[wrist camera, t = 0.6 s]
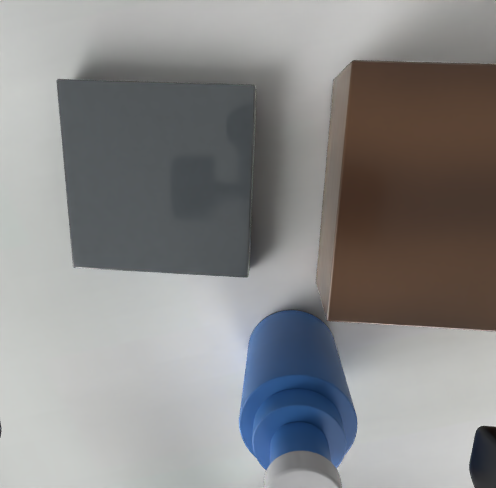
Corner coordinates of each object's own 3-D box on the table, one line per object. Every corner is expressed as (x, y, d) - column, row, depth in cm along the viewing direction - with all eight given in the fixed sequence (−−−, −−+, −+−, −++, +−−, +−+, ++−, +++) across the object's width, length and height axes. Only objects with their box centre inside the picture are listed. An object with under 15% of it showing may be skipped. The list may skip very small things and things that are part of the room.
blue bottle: (331, 389, 22) (369, 564, 13) (246, 384, 22) (228, 550, 13) (339, 312, 21) (388, 446, 12) (250, 307, 21) (231, 433, 12)
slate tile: (249, 270, 21) (248, 278, 19) (83, 261, 21) (72, 268, 20) (256, 87, 18) (255, 84, 17) (69, 82, 19) (55, 78, 18)
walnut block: (511, 294, 20) (577, 337, 16) (315, 282, 21) (326, 321, 16) (560, 84, 17) (655, 67, 13) (333, 78, 18) (351, 59, 14)
